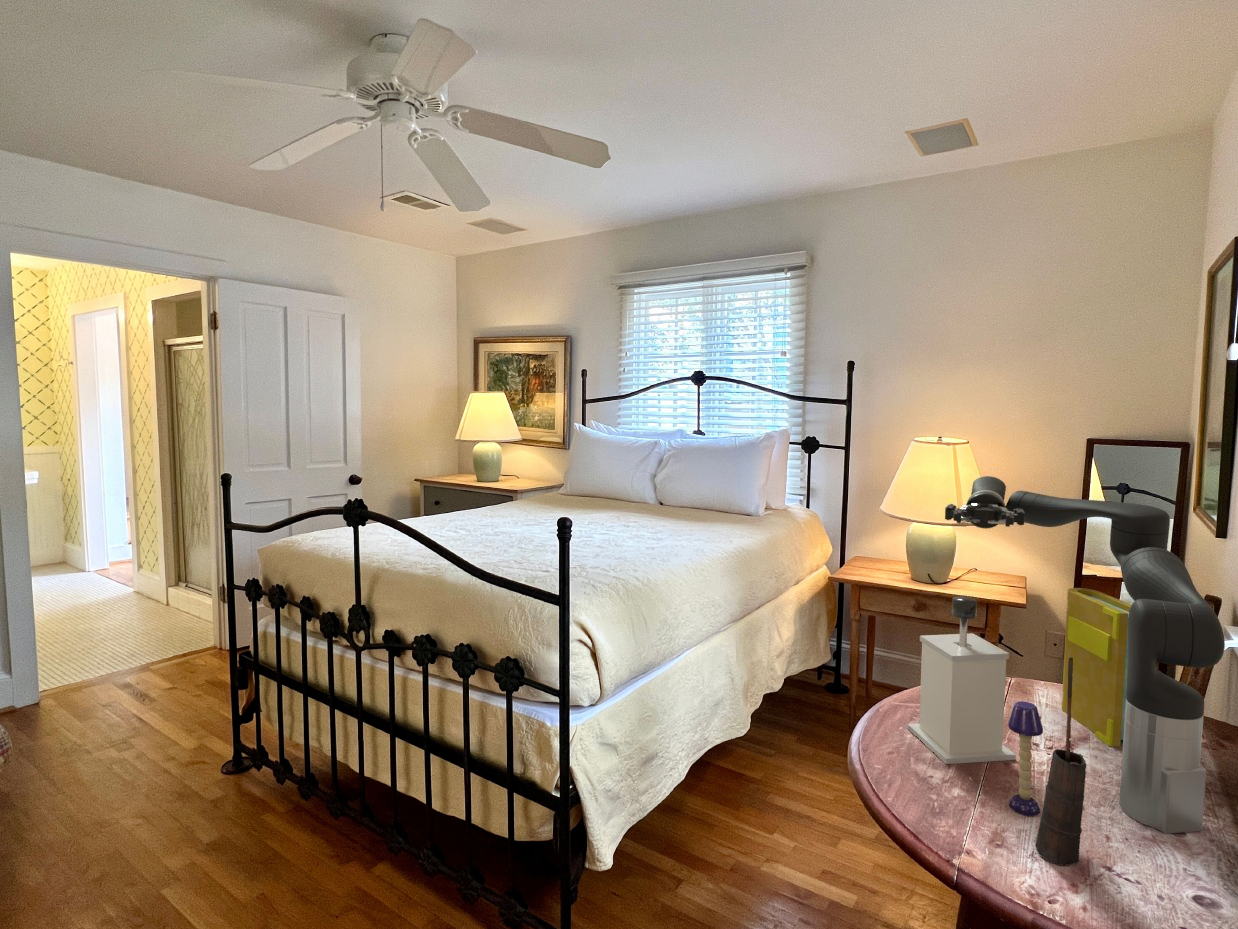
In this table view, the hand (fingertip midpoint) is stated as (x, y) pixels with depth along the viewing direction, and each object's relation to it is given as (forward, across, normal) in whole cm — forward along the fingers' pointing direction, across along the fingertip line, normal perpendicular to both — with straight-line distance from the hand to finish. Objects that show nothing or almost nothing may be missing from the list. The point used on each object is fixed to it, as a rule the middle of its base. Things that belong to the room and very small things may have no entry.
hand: (983, 519), depth 135 cm
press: (+14, -2, +40) cm, 43 cm away
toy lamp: (+32, +8, +40) cm, 52 cm away
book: (-7, +21, +40) cm, 46 cm away
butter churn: (+43, +12, +40) cm, 60 cm away
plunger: (+14, -2, +38) cm, 41 cm away
